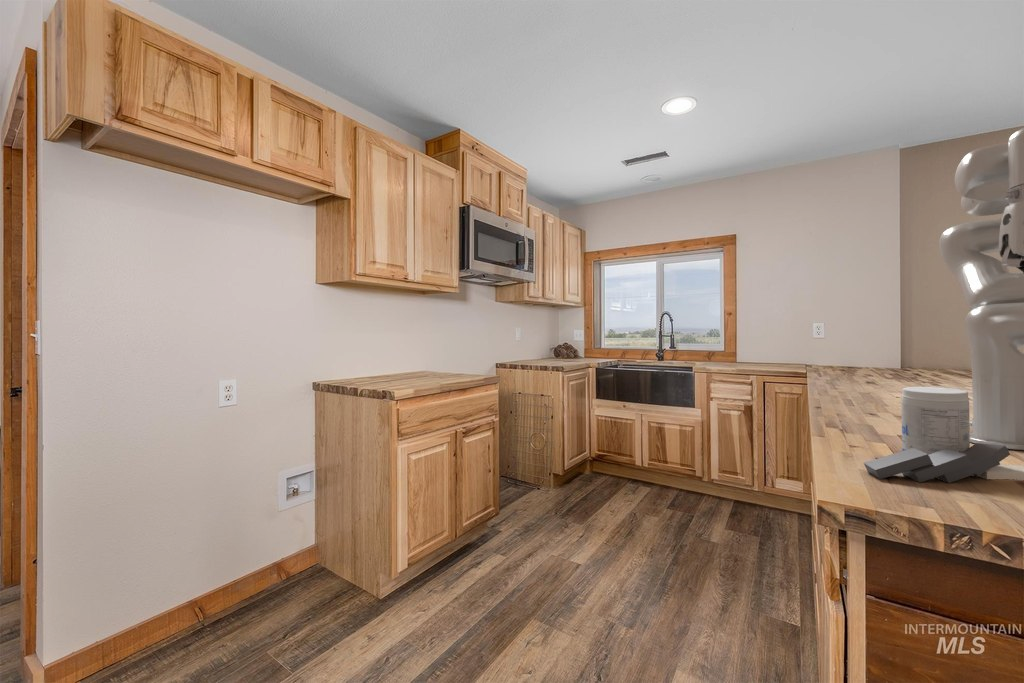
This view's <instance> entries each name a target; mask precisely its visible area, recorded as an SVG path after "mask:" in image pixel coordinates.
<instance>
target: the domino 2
mask: <svg viewBox="0 0 1024 683" xmlns="http://www.w3.org/2000/svg"><path fill="white" fill-rule="evenodd" d="M929 457H930V459H931V461H932V463H933V464H931V465H927V466H924V467H920V468H917V469H914V470H910V471H907V472H903V473H901V474H902V475H904V477H907V476H908V478H909V477H910V478H909V479H911V478H912V479H911V480H913V479H914V480H913V481H915V480H916V482H918V483H920V482H921V483H923V482H926V481H929V480H932V479H936V478H935V477H938V476H941V475H944V474H947V473H949V472H952V471H955V470H958V469H961V468H964V467H967V466H970V465H972V463H971V461H970V459H969V458H968V456H967V455H966V454H963V453H960V452H957V451H954V450H951V449H948V448H946V449H943V450H941V451H938V452H935V453H932V454H929Z"/></svg>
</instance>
